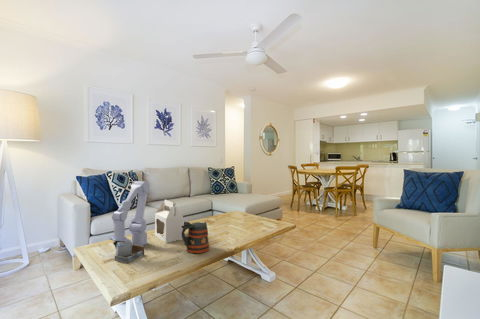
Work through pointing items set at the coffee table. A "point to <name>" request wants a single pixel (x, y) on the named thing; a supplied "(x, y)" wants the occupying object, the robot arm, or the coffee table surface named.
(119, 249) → the medicine box
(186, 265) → the coffee table surface
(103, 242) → the coffee table surface
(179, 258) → the coffee table surface
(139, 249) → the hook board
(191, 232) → the beer stein
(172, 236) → the gable box
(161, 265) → the coffee table surface
